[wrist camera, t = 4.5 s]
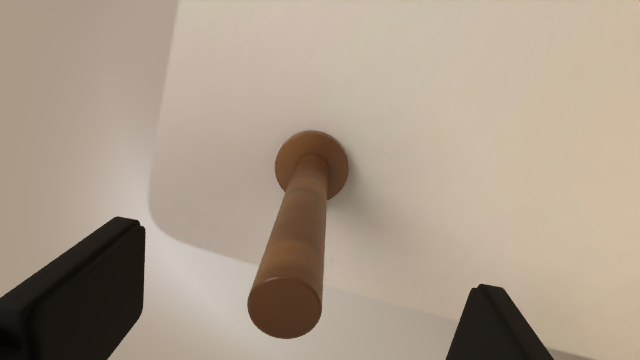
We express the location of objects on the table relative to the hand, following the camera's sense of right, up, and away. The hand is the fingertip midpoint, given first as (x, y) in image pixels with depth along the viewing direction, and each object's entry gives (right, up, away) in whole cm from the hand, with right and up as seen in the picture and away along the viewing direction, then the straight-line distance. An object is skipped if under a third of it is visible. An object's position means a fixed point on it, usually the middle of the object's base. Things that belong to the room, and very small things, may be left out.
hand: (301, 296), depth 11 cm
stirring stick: (0, +4, +12) cm, 13 cm away
